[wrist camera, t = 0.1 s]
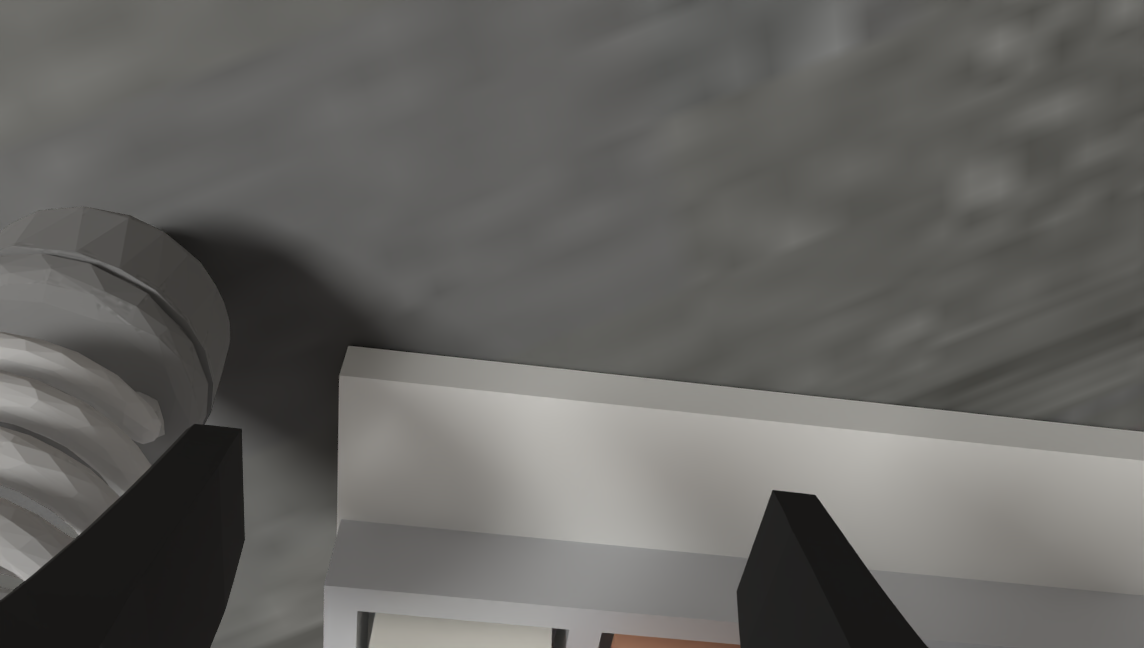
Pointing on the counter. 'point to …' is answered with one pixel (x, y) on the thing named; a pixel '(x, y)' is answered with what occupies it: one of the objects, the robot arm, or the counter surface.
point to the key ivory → (453, 633)
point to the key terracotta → (662, 643)
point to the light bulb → (95, 366)
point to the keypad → (713, 506)
